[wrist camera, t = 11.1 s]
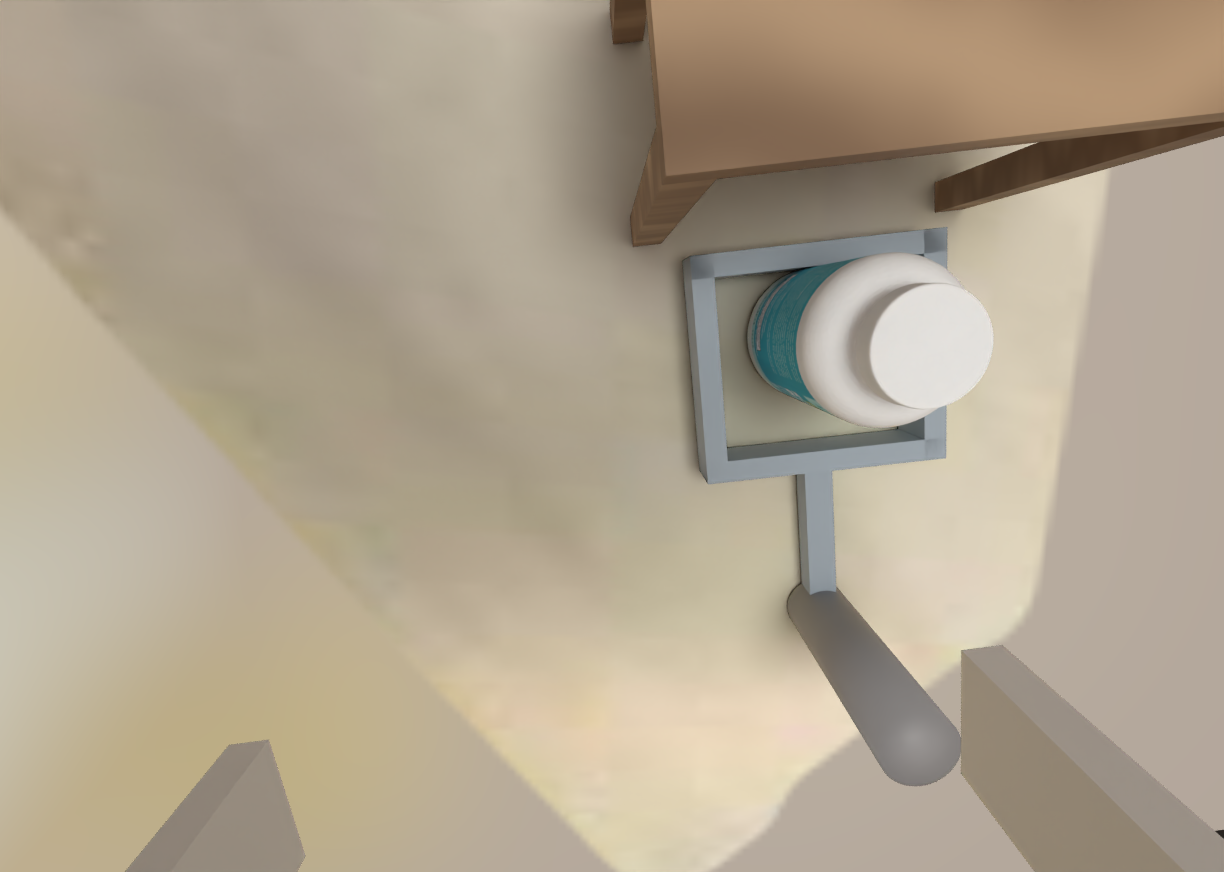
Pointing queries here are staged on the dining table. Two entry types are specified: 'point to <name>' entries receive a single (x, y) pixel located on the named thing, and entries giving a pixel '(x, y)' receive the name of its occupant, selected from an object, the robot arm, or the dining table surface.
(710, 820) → the dining table surface
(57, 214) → the dining table surface
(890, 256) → the pill bottle
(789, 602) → the grey frame on stick
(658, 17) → the tunnel
